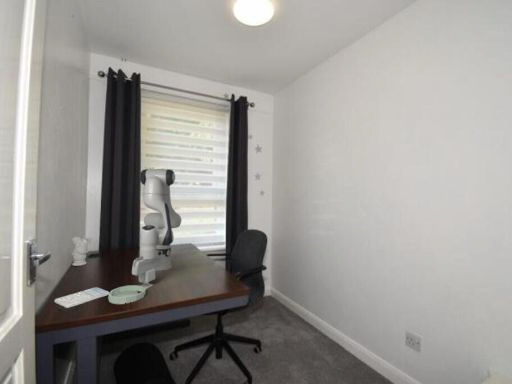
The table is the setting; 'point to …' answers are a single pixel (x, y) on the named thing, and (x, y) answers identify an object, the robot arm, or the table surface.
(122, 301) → the faceted green bowl
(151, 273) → the security camera
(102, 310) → the table surface
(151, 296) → the table surface
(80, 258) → the cherub figurine
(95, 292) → the calculator
